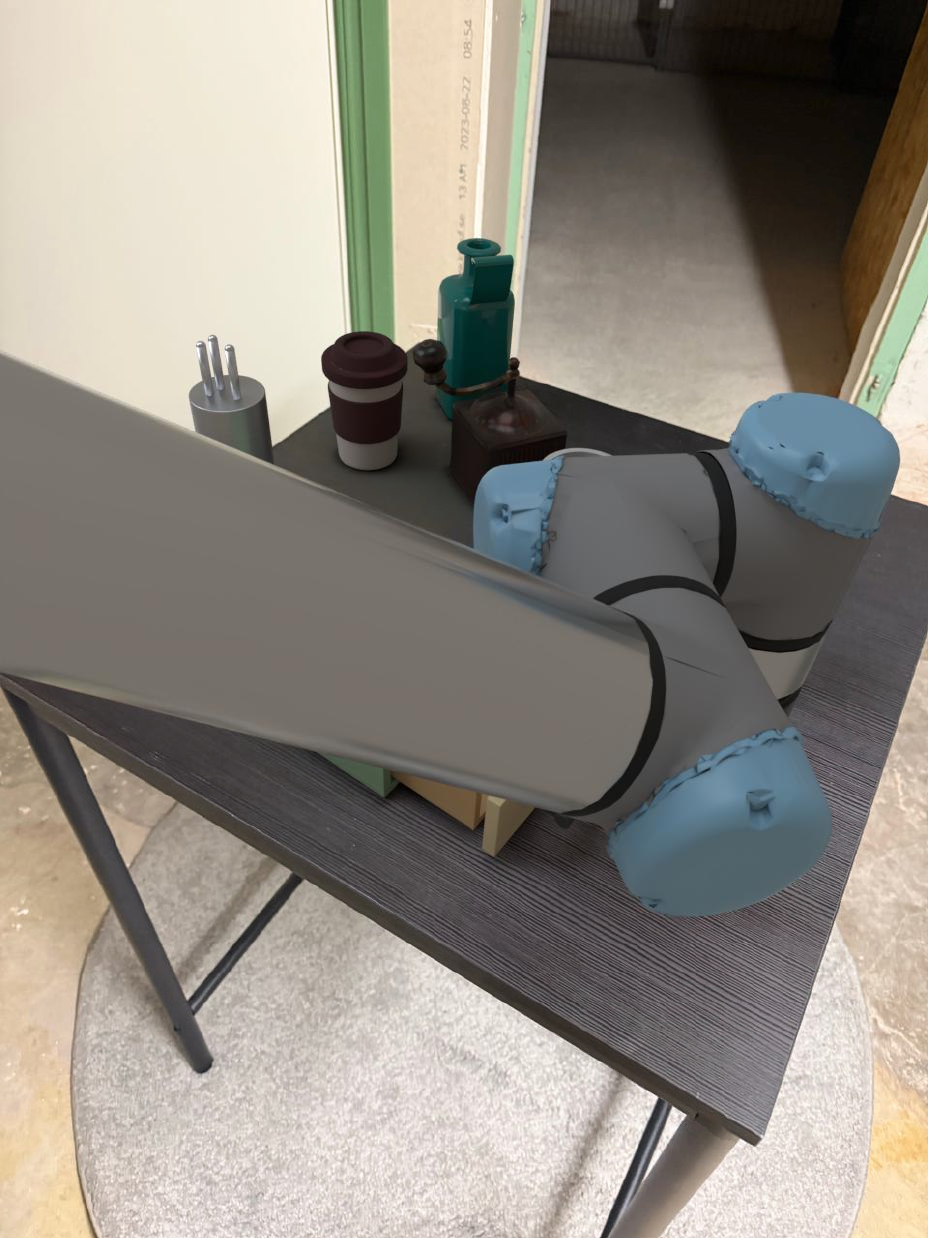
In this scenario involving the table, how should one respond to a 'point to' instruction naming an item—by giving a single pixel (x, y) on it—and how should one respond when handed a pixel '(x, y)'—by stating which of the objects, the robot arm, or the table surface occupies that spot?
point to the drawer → (478, 810)
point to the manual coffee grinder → (491, 421)
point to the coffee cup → (365, 397)
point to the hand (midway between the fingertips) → (658, 872)
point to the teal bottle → (476, 320)
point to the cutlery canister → (230, 405)
